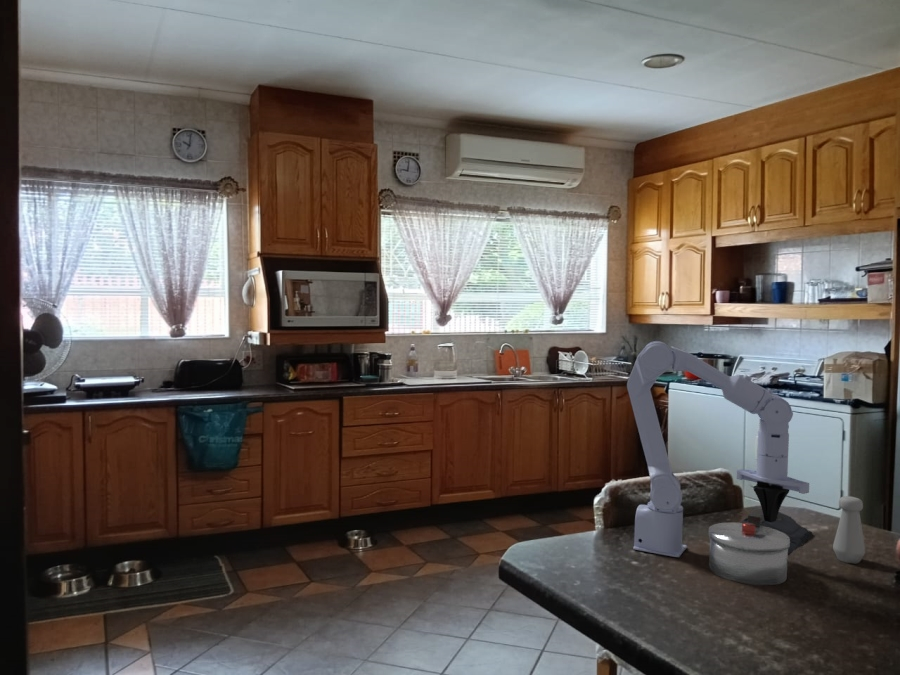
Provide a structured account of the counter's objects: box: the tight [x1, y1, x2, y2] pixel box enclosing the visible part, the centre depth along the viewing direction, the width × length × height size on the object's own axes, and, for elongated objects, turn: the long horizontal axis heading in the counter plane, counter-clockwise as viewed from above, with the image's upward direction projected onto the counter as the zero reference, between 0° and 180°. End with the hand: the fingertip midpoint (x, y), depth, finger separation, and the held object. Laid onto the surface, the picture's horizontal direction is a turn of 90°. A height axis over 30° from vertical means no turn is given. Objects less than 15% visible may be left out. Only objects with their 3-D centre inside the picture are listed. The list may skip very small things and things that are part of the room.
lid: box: [708, 507, 790, 552], centre depth 142 cm, size 20×15×3 cm
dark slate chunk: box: [740, 511, 814, 556], centre depth 162 cm, size 15×22×5 cm
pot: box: [708, 538, 789, 586], centre depth 142 cm, size 20×14×6 cm
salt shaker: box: [832, 495, 866, 564], centre depth 148 cm, size 6×6×13 cm
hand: (770, 521), depth 146 cm, fingers closed
